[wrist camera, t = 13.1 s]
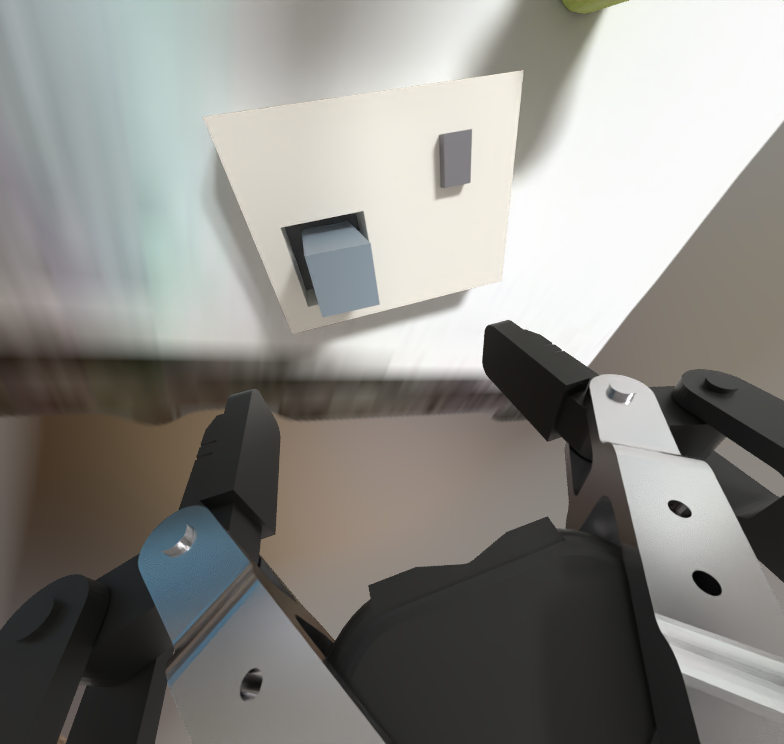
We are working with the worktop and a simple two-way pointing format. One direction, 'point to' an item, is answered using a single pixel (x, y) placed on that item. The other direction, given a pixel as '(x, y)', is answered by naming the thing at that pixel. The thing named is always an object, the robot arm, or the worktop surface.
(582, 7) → the plant pot
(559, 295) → the worktop surface
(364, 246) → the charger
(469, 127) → the outlet plate
